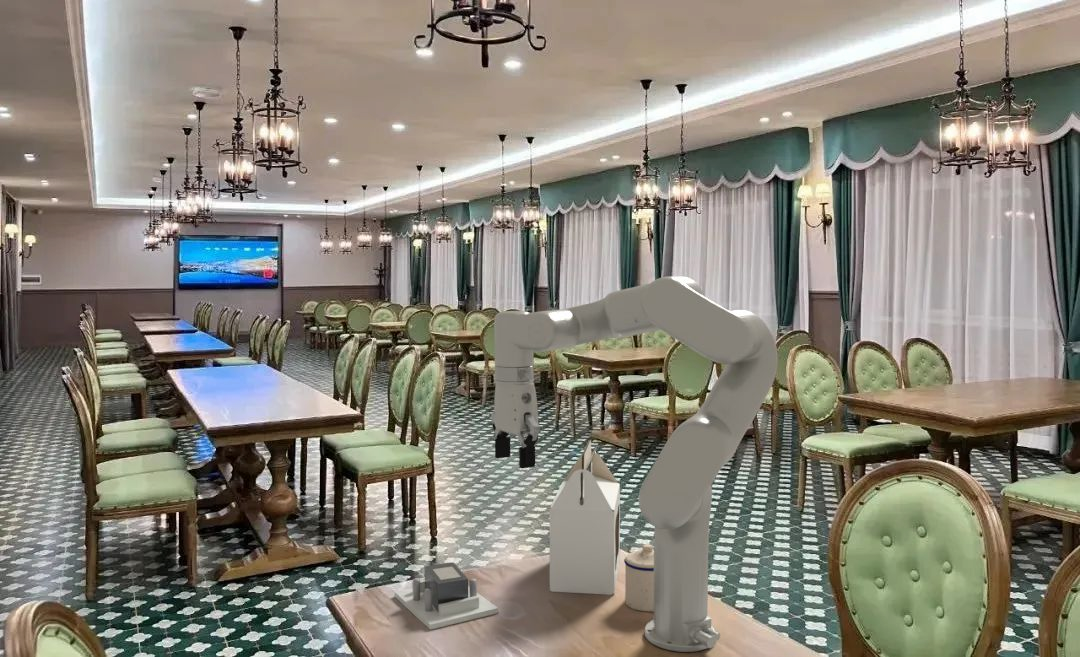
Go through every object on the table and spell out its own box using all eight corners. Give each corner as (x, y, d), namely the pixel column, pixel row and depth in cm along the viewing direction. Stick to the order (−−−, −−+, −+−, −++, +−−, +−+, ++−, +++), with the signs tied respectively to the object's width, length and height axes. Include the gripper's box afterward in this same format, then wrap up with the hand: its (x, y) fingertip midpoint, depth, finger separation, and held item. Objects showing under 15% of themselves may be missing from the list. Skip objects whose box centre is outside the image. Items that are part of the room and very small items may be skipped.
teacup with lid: (674, 612, 153) (675, 553, 153) (627, 613, 153) (627, 553, 152) (662, 588, 165) (663, 533, 165) (619, 589, 165) (619, 533, 164)
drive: (468, 607, 154) (468, 578, 153) (438, 612, 152) (437, 583, 151) (452, 587, 163) (452, 560, 163) (424, 592, 161) (423, 565, 161)
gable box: (614, 596, 162) (614, 459, 160) (549, 592, 164) (549, 457, 162) (619, 558, 184) (620, 437, 182) (562, 555, 186) (562, 435, 184)
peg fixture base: (497, 613, 153) (497, 587, 153) (430, 629, 146) (429, 603, 146) (457, 582, 169) (457, 559, 169) (394, 596, 162) (394, 572, 161)
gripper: (554, 378, 149) (554, 468, 150) (509, 369, 164) (510, 452, 165) (519, 381, 146) (519, 474, 147) (476, 371, 160) (477, 456, 161)
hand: (514, 462), depth 156 cm, fingers open, 9 cm apart
